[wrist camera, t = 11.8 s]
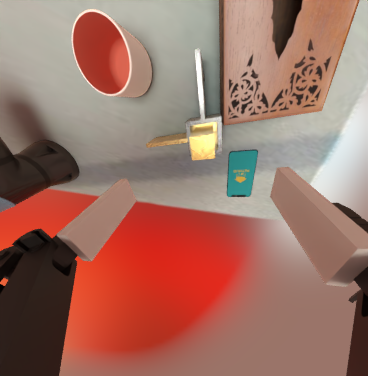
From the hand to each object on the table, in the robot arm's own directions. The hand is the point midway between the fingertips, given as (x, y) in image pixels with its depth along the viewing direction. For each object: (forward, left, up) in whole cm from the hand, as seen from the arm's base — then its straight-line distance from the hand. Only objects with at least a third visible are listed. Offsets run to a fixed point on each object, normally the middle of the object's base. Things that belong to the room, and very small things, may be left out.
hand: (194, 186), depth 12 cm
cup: (-15, +15, -27) cm, 34 cm away
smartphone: (+9, -14, -27) cm, 31 cm away
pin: (0, 0, -23) cm, 23 cm away
